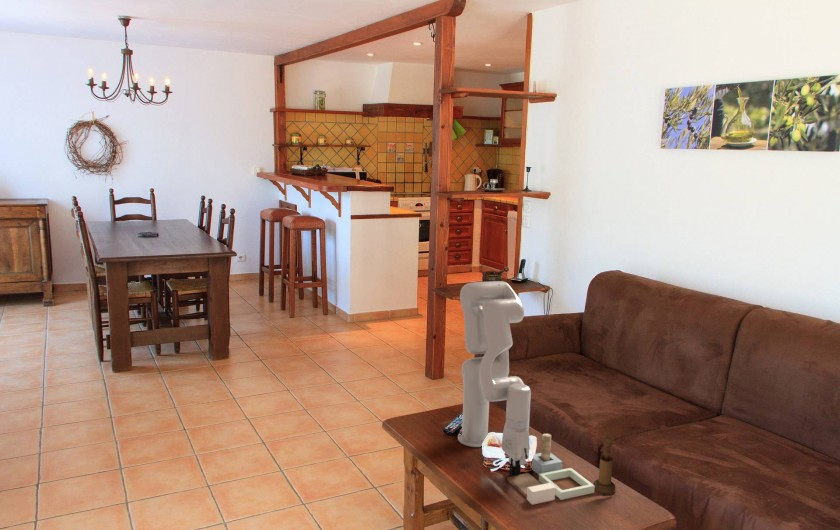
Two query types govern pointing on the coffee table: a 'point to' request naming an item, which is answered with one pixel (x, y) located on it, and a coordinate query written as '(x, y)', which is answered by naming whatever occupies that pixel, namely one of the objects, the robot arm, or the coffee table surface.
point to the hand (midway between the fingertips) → (514, 475)
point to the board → (523, 482)
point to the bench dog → (541, 493)
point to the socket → (546, 464)
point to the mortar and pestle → (605, 471)
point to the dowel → (546, 447)
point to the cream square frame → (572, 492)
